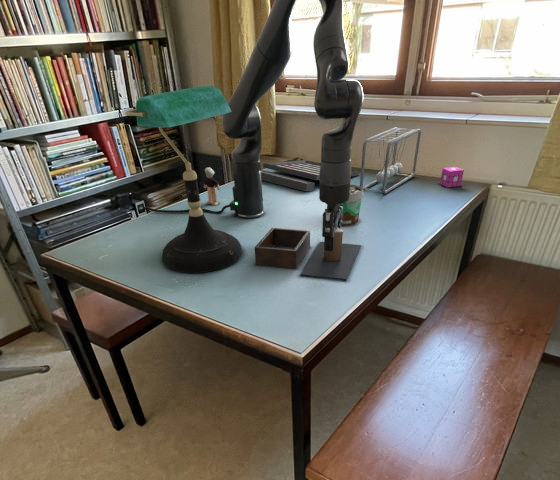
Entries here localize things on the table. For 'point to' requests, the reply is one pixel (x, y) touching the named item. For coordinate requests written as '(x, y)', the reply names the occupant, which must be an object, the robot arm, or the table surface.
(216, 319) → the table surface
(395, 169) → the newton's cradle
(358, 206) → the food container
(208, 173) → the grandmother figurine
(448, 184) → the puzzle toy
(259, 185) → the robot arm
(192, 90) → the banker's lamp
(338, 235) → the wooden block
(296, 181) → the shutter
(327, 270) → the mat
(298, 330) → the table surface
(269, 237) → the crate
